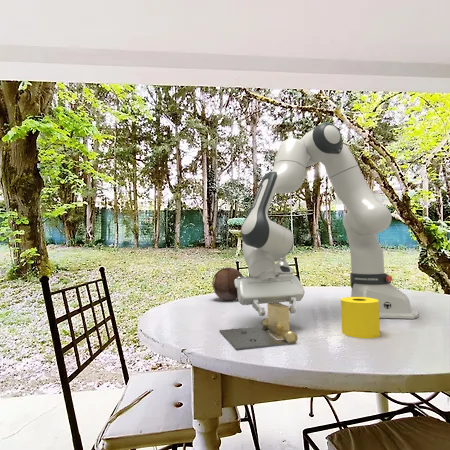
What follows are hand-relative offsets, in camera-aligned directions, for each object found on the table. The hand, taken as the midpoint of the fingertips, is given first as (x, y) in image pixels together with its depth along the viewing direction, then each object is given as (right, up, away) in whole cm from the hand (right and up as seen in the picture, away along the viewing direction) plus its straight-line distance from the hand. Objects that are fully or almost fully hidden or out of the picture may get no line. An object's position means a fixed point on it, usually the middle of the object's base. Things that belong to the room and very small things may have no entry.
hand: (278, 313), depth 95 cm
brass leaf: (0, -6, 0) cm, 6 cm away
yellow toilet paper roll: (+23, -6, 0) cm, 24 cm away
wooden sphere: (-13, -10, +59) cm, 62 cm away
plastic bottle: (+11, -9, +58) cm, 59 cm away
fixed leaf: (-7, -6, -2) cm, 9 cm away
